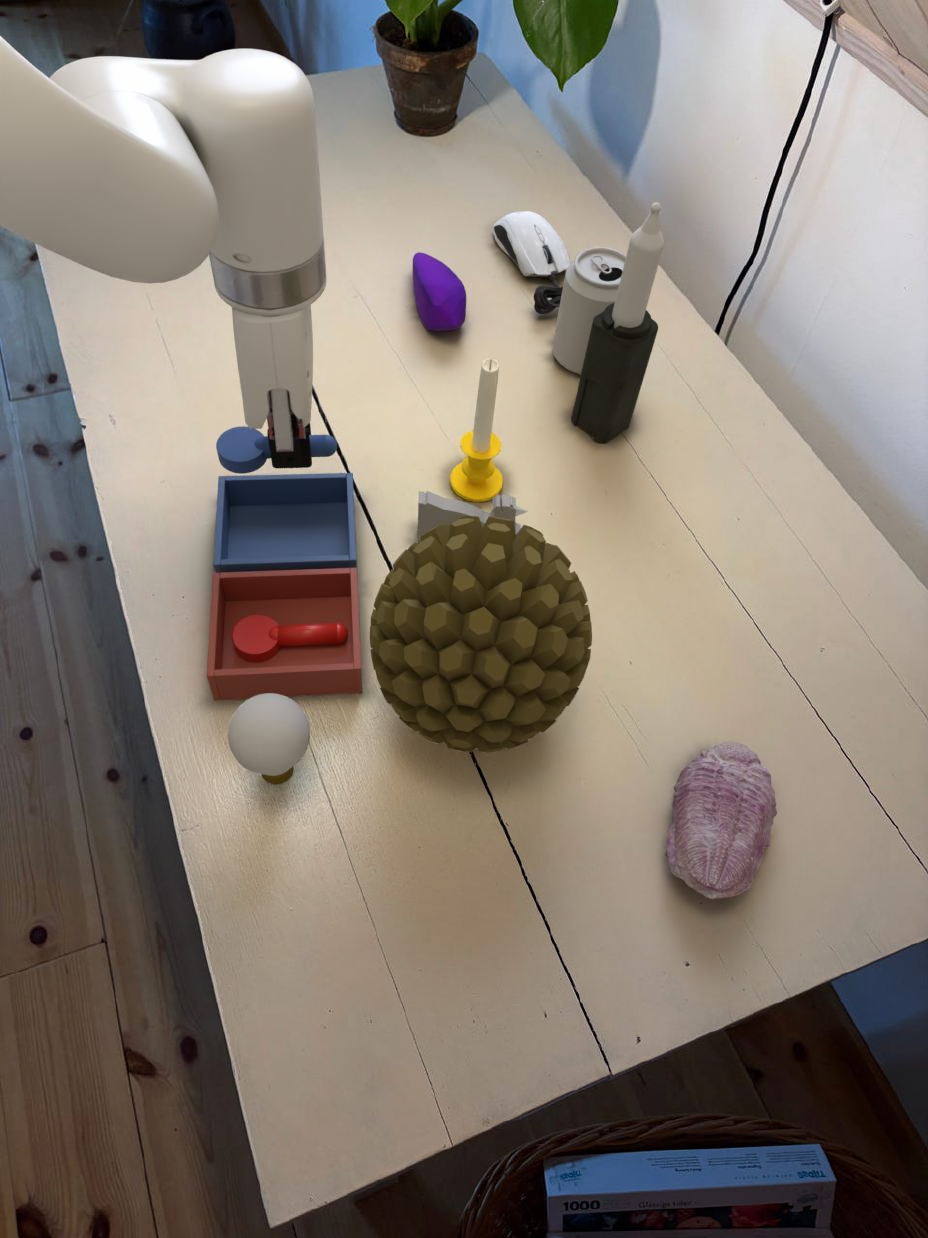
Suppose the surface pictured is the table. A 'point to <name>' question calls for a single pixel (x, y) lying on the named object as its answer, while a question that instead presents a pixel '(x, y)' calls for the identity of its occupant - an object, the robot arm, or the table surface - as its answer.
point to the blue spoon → (259, 449)
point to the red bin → (287, 604)
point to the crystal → (438, 294)
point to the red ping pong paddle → (280, 636)
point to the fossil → (721, 820)
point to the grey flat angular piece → (461, 511)
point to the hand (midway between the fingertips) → (292, 453)
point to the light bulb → (269, 736)
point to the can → (585, 301)
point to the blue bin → (285, 522)
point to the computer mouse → (534, 253)
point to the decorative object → (480, 635)
